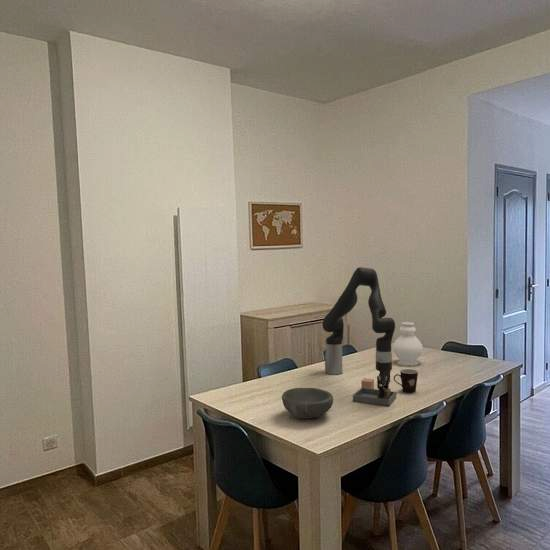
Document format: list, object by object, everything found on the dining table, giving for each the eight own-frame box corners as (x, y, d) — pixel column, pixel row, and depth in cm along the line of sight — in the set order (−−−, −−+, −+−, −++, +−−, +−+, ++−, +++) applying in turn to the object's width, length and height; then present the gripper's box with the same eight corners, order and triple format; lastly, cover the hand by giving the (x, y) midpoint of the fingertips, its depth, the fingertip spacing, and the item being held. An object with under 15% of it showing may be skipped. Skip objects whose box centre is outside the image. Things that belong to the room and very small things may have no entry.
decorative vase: (401, 368, 287) (401, 326, 285) (387, 360, 304) (387, 321, 302) (428, 365, 291) (428, 324, 289) (413, 358, 308) (413, 319, 307)
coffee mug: (418, 389, 247) (418, 369, 246) (417, 394, 239) (417, 374, 238) (394, 387, 251) (394, 368, 250) (393, 392, 243) (393, 372, 242)
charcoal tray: (352, 401, 230) (352, 395, 230) (361, 393, 242) (361, 387, 242) (388, 406, 222) (388, 400, 222) (396, 398, 234) (396, 391, 234)
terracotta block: (361, 390, 247) (361, 380, 247) (364, 387, 252) (364, 378, 251) (371, 391, 245) (370, 381, 244) (374, 388, 249) (373, 379, 249)
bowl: (338, 424, 202) (338, 401, 202) (284, 427, 201) (284, 403, 200) (328, 405, 225) (327, 384, 224) (279, 408, 223) (279, 386, 223)
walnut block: (377, 400, 229) (377, 390, 229) (380, 397, 233) (380, 387, 233) (387, 402, 227) (387, 391, 226) (390, 399, 231) (390, 388, 231)
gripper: (380, 355, 237) (380, 389, 238) (371, 362, 224) (371, 398, 225) (395, 357, 233) (395, 391, 234) (387, 364, 220) (387, 400, 222)
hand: (383, 394), depth 230 cm, fingers open, 6 cm apart
